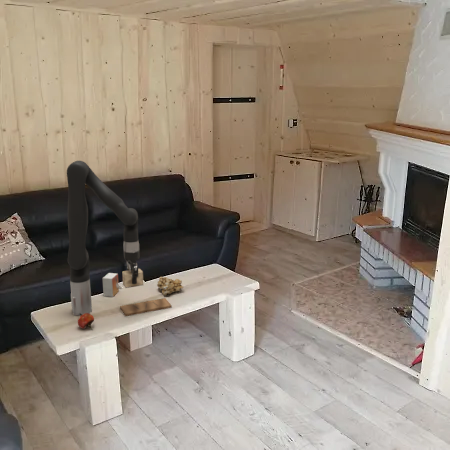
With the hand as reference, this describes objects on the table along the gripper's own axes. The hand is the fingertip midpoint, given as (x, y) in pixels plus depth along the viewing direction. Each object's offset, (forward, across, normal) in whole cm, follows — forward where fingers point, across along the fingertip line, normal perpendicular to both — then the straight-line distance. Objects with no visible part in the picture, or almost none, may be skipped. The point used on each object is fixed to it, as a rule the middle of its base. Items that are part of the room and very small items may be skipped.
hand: (132, 281), depth 240 cm
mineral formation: (+15, -16, +24) cm, 33 cm away
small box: (+16, -25, -6) cm, 30 cm away
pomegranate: (+16, +9, -25) cm, 31 cm away
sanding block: (+2, 0, 0) cm, 2 cm away
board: (+15, 0, +6) cm, 16 cm away
